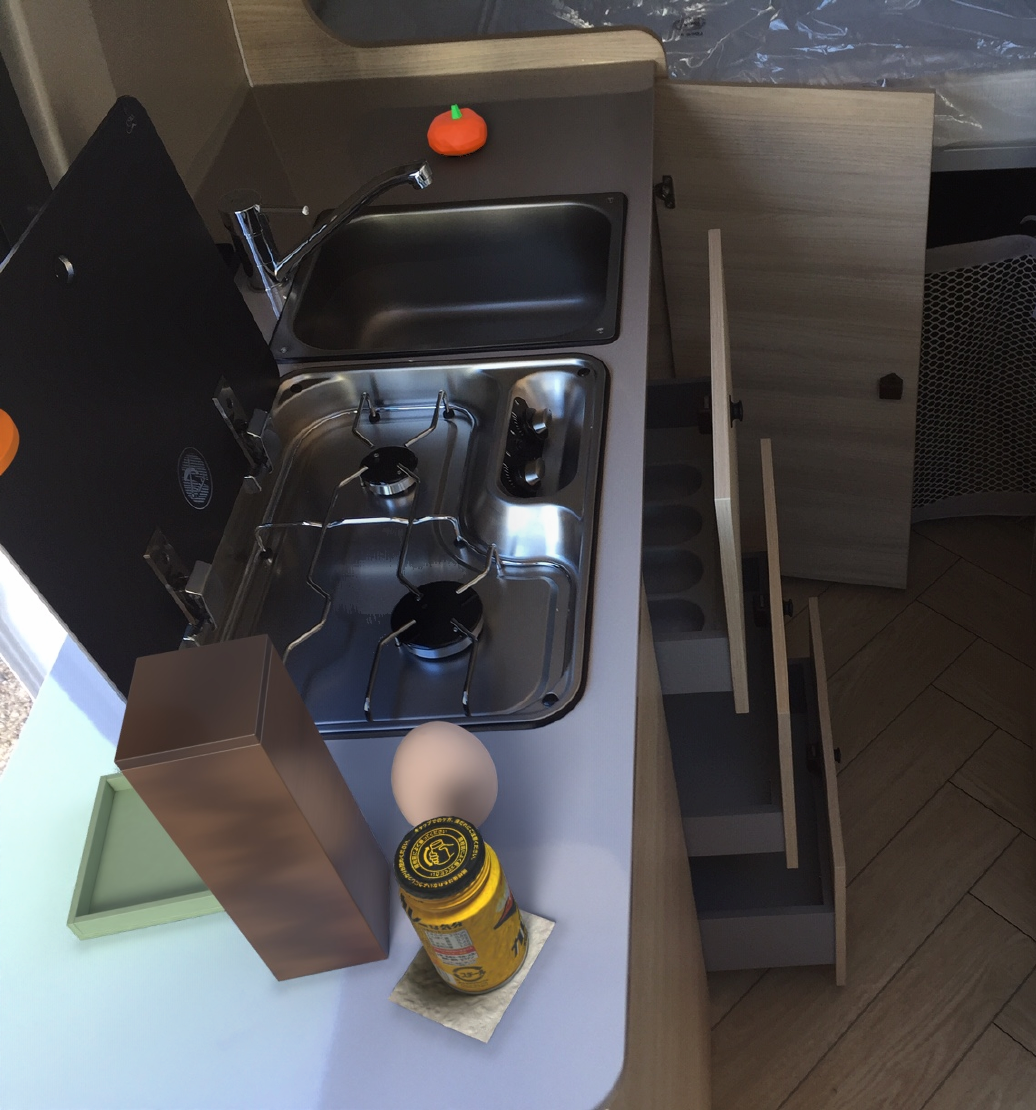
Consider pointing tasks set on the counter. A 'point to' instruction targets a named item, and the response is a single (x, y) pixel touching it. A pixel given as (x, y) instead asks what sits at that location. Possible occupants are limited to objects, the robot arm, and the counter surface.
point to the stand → (257, 804)
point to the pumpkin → (457, 132)
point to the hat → (7, 440)
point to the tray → (132, 869)
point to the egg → (443, 775)
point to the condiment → (462, 928)
